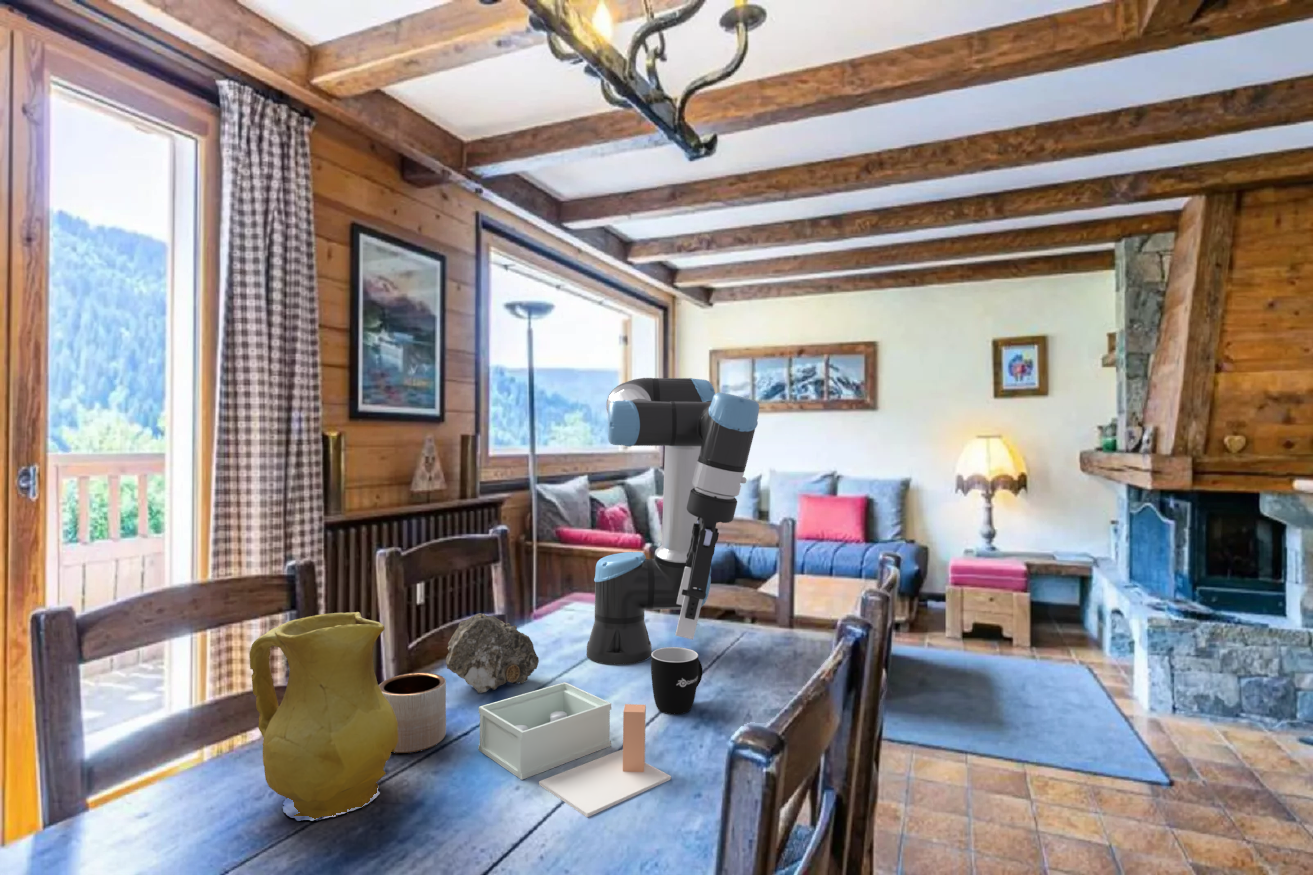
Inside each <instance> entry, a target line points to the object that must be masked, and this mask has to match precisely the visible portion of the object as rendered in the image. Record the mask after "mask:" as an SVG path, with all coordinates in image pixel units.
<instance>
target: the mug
mask: <svg viewBox="0 0 1313 875" xmlns="http://www.w3.org/2000/svg"><path fill="white" fill-rule="evenodd" d="M699 657H700V656H699V653H697V652H696V651H695V650H693V649H690V648H687V647H686V648H685V647H679V646H678V647H676V646H674V647H673V646H669V647H661V648H657V649H655V650H653V651H652V654H651V657H650V673H651V674H650V675H651V684H652V693H653V699H654V703H655V706H656V709H658V711H660V712H661V713H664V714H668V715H682V714H686V713H689V711H690V710H692V708H693V705H694V703H695V698H696V693H697V688H698V687H699V685H700V683H701V680H702V678H703V666H702V663H701V661H700V660H699Z"/></svg>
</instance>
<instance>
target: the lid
mask: <svg viewBox="0 0 1313 875" xmlns="http://www.w3.org/2000/svg"><path fill="white" fill-rule="evenodd" d="M646 710H647V706H646V704H637V703H636V704H633V703H632V704H631V703H630V704H629V703H625V704H624V707H623V712H622V713H623V714H622V715H623V716H622V717H623V723H622V724H623V725H622V727H623V729H622V749H620V750H619V749H618V750H616V751H614V752H612V753H609V754H606V755H604V756H601V757H599V758H596V759H594V760H591V761H588V762H586V763H584V764H583V763H582V764H580V765H578V766H576V767H575V766H574V767H573V768H570V769H567V770H565V771H562V772H560V773H557V774H555V775H552V776H549V777H547V778H544V779H541V780H540V781H538V785H539V786H540V787H542V788H543V789H545V790H546V791H547V792H549V793H551V794H552V795H554V797H556V798H558V799H559V798H560V799H559V800H561V801H563V803H565V804H566V805H568V806H570V807H571V808H572V807H573V808H572V809H574V810H576V811H577V812H578V813H580V814H581V815H583V816H585V817H586V818H589V817H591V816H593V815H595V814H598V813H600V812H602V811H605V810H607V809H608V808H611V807H613V806H615V805H618V804H620V803H622V802H624V801H627V800H629V799H631V798H633V797H635V796H637V795H640V794H642V793H644V792H646V791H648V790H650V789H652V788H655V787H657V786H659V785H662V784H664V783H666V782H668V781H670V780H671V779H672V776H671V775H669V774H668V773H666V772H664V771H663V770H660V769H658V768H657V767H655V766H653V765H651V764H649V763H647V762H646V718H647V717H646V714H647V712H646Z"/></svg>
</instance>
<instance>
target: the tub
mask: <svg viewBox="0 0 1313 875" xmlns="http://www.w3.org/2000/svg"><path fill="white" fill-rule="evenodd" d="M611 710H612V702H610V701H608V700H605V699H603V698H601V697H599V696H596V695H594V694H592V693H590V692H587V691H585V690H583V689H581V688H579V687H577V686H574V685H572V684H570V683H568V682H565V681H564V682H561V683H557V684H554V685H550V686H547V687H543V688H540V689H536V690H533V691H529V692H526V693H522V694H519V695H516V696H512V697H509V698H505V699H502V700H498V701H495V702H491V703H488V704H484V705H481V706H479V707H478V714H479V744H478V748H477V751H479V752H481V753H482V754H484V755H485V756H486V757H488V758H489V759H491V760H492V761H494V762H495V763H496V764H498V765H500V766H501V767H502V768H504V769H505V770H507V771H508V772H510V773H511V774H513V775H514V776H516V777H517V778H519V779H520V780H521V781H522V780H525V779H529V778H531V777H533V776H536V775H538V774H541V773H544V772H546V771H549V770H551V769H553V768H556V767H559V766H562V765H564V764H566V763H570V762H573V761H575V760H577V759H580V758H583V757H585V756H588V755H590V754H593V753H596V752H598V751H600V750H603V749H606V748H609V747H611V746H612V740H610V733H611V732H610V729H611V728H610V725H611V722H610V720H611V718H610V717H611V716H610V714H611V712H610V711H611Z"/></svg>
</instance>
